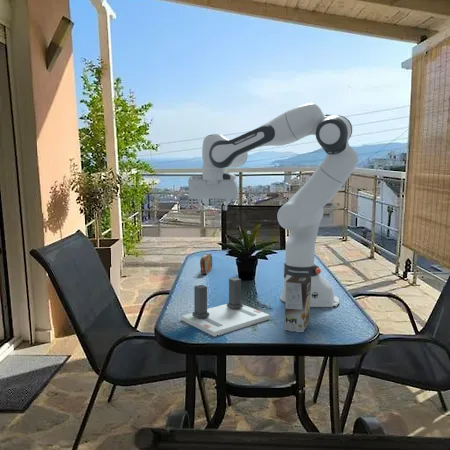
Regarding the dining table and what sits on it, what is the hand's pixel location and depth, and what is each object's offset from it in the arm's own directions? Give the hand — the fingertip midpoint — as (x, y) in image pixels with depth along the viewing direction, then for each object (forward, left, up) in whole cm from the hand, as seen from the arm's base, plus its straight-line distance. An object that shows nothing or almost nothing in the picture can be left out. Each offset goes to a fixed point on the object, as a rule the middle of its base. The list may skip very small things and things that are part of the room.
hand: (213, 209), depth 173 cm
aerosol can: (-10, -35, -34) cm, 50 cm away
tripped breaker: (-3, +35, -32) cm, 47 cm away
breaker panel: (-11, +32, -34) cm, 48 cm away
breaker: (-13, +24, -32) cm, 42 cm away
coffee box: (-35, +34, -34) cm, 59 cm away
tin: (+10, -30, -34) cm, 47 cm away
